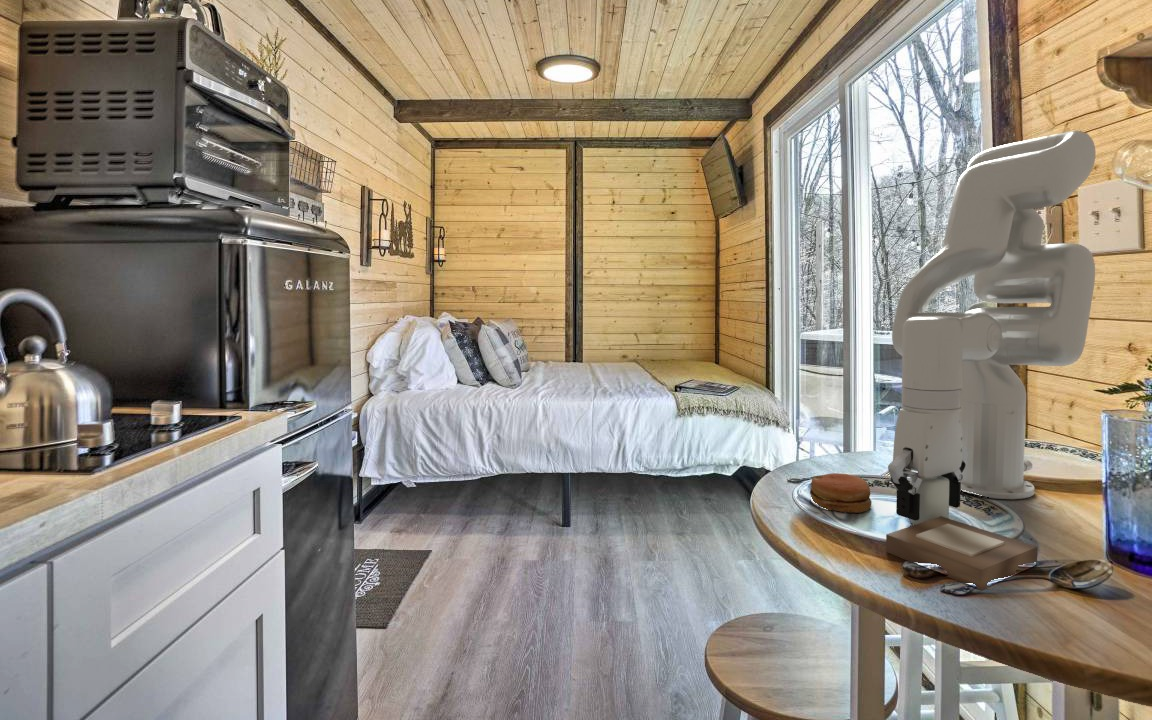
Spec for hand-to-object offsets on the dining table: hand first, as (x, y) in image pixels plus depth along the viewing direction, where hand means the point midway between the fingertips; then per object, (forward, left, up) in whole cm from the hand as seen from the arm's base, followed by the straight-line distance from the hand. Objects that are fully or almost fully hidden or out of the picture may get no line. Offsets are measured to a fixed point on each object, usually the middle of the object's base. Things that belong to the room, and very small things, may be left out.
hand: (928, 510), depth 86 cm
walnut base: (+8, +9, -2) cm, 12 cm away
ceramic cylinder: (0, 0, -2) cm, 2 cm away
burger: (+4, -13, -2) cm, 13 cm away
